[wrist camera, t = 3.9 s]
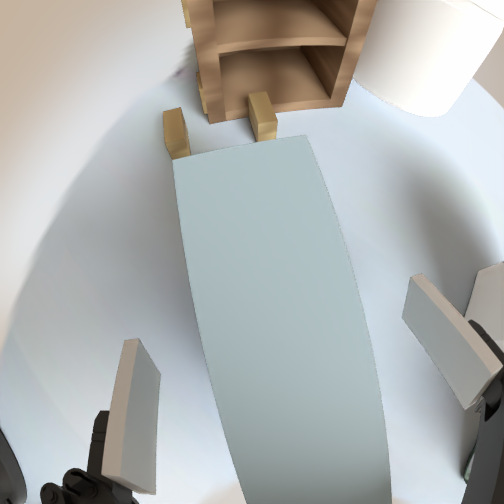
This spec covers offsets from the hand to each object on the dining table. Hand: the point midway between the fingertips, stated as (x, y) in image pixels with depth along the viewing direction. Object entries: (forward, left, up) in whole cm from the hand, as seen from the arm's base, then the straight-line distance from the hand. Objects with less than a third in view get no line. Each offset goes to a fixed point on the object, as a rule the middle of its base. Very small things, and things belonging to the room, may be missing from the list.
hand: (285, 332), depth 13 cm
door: (-1, -1, -7) cm, 7 cm away
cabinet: (+3, +21, -7) cm, 23 cm away
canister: (+22, +24, -7) cm, 34 cm away
